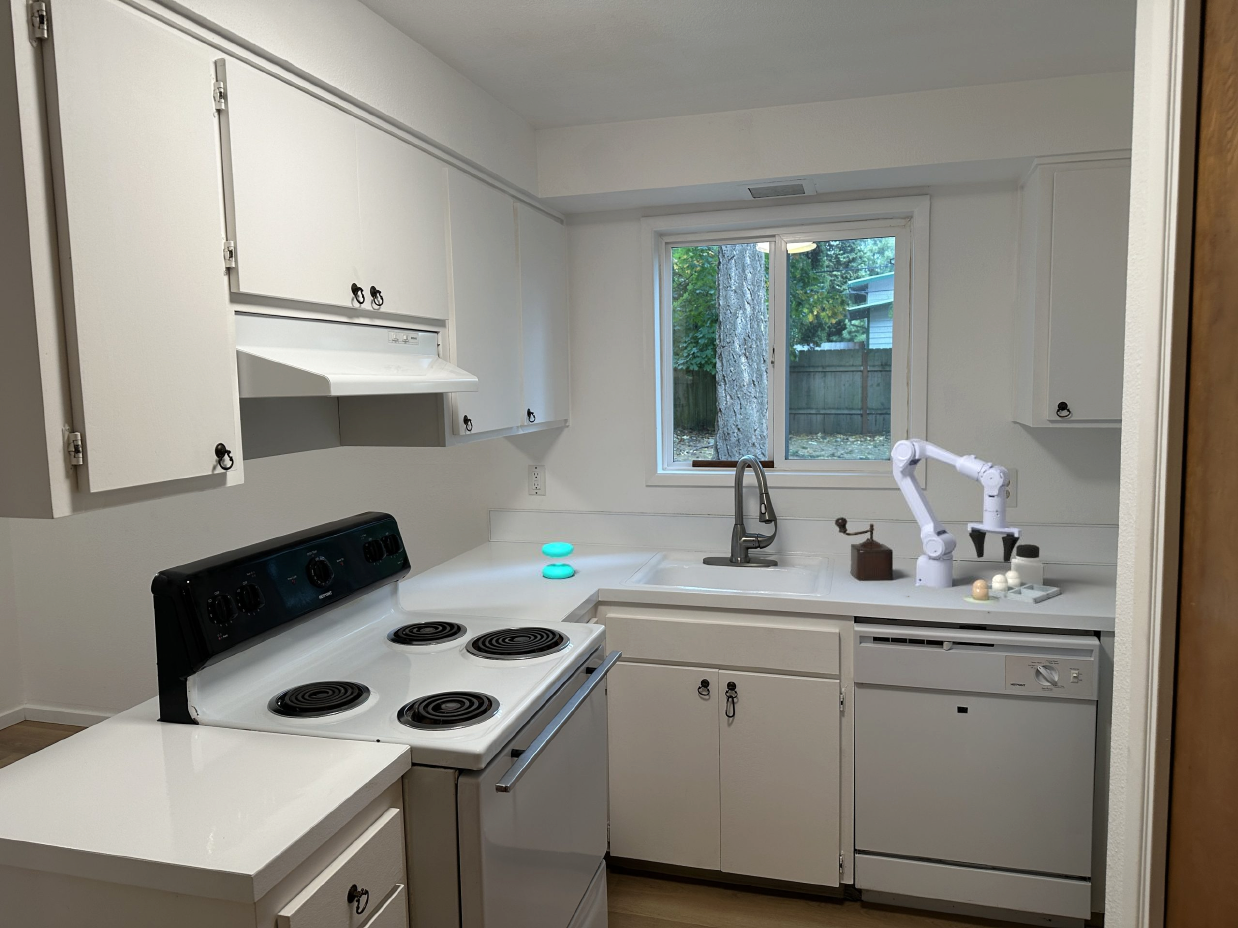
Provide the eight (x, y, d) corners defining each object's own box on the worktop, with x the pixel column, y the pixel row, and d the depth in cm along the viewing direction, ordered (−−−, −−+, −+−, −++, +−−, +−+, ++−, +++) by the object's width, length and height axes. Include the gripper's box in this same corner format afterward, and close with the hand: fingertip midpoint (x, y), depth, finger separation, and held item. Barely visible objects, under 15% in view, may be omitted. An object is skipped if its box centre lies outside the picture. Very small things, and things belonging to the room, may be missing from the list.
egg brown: (969, 598, 234) (970, 579, 234) (977, 596, 237) (977, 577, 236) (983, 601, 231) (984, 582, 231) (991, 598, 234) (991, 579, 233)
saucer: (956, 601, 234) (956, 598, 234) (973, 595, 240) (973, 593, 240) (988, 607, 228) (988, 604, 227) (1005, 601, 233) (1005, 599, 233)
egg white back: (1002, 588, 245) (1002, 570, 244) (1008, 586, 247) (1009, 568, 247) (1016, 590, 242) (1016, 572, 241) (1022, 588, 244) (1023, 570, 244)
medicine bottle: (1043, 589, 247) (1044, 547, 245) (1016, 588, 248) (1017, 547, 247) (1036, 583, 253) (1037, 542, 252) (1010, 582, 255) (1011, 542, 254)
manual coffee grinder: (882, 572, 271) (883, 515, 269) (893, 580, 260) (894, 521, 258) (832, 573, 271) (833, 516, 269) (841, 581, 260) (842, 522, 258)
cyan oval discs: (556, 540, 279) (580, 543, 273) (557, 571, 280) (580, 575, 274) (534, 545, 271) (558, 549, 265) (535, 576, 272) (559, 581, 266)
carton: (978, 595, 240) (978, 587, 240) (1005, 586, 250) (1005, 578, 250) (1034, 606, 229) (1034, 598, 228) (1060, 596, 238) (1060, 588, 238)
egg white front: (989, 592, 240) (989, 574, 240) (996, 590, 243) (996, 572, 242) (1003, 595, 237) (1003, 576, 236) (1010, 592, 240) (1010, 574, 239)
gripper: (1027, 511, 235) (1026, 561, 236) (977, 506, 246) (976, 553, 247) (1014, 514, 230) (1013, 564, 232) (964, 508, 242) (963, 556, 243)
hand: (993, 559), depth 239 cm, fingers open, 7 cm apart
